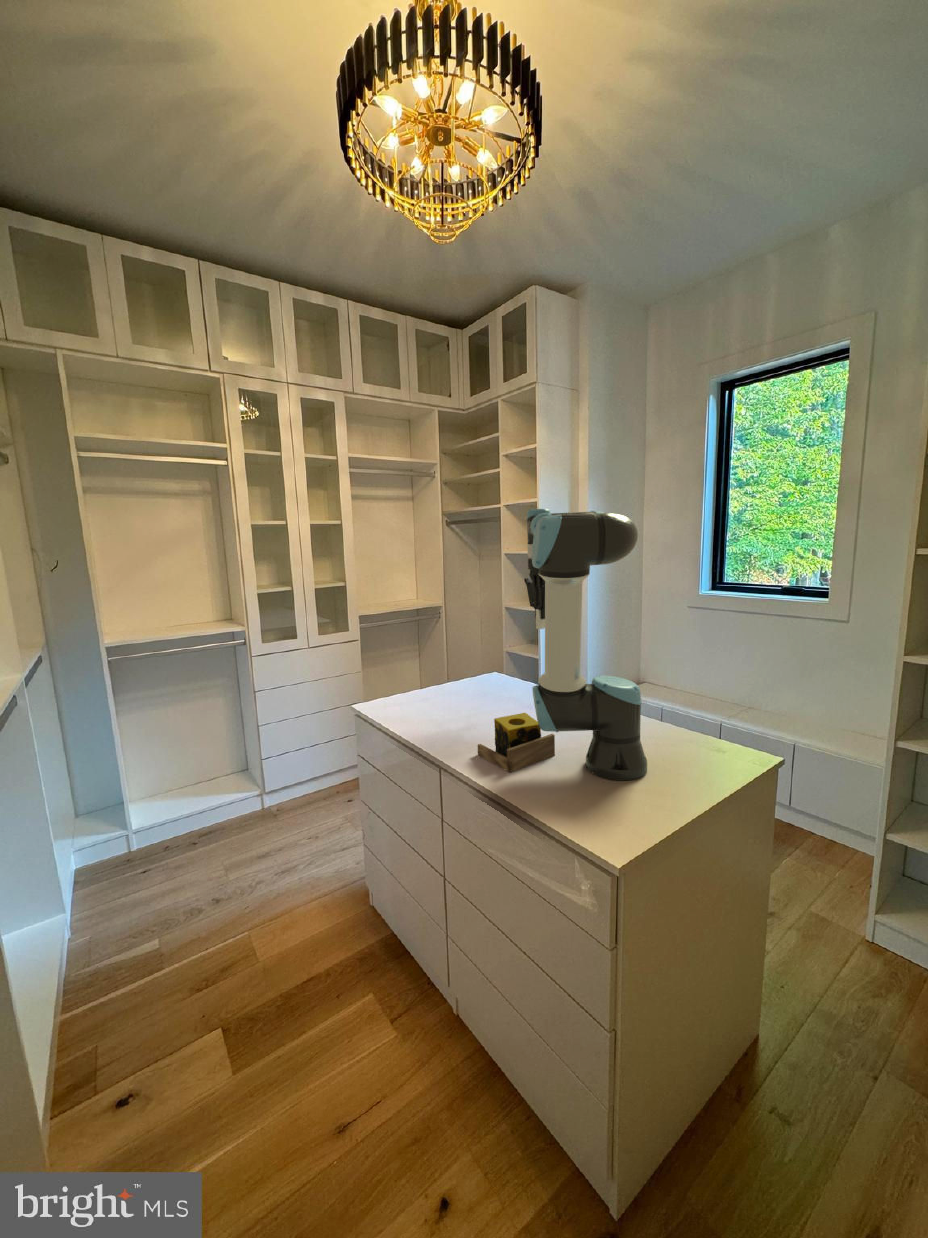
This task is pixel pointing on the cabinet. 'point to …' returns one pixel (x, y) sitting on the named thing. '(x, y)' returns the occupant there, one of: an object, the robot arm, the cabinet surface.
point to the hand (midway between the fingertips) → (540, 628)
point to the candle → (515, 731)
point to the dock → (521, 753)
